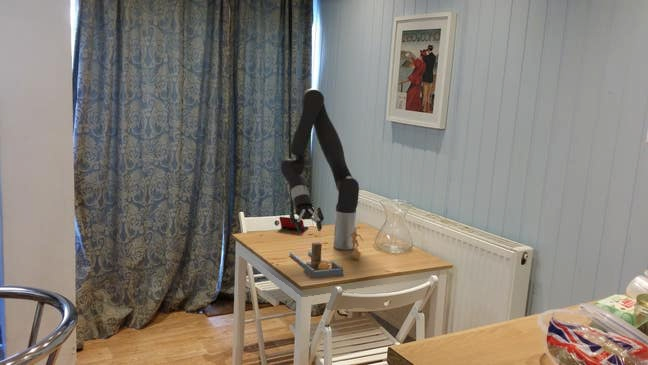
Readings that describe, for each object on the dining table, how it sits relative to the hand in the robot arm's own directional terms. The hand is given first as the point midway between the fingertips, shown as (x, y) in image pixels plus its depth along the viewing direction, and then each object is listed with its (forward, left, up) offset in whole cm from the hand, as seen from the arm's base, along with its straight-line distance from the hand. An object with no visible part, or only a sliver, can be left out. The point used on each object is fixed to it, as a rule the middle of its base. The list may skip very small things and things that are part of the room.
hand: (310, 230), depth 237 cm
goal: (0, +15, -13) cm, 20 cm away
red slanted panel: (-13, -50, -14) cm, 54 cm away
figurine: (-21, +2, -13) cm, 25 cm away
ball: (0, +15, -11) cm, 19 cm away
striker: (0, +9, -13) cm, 16 cm away
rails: (0, +1, -13) cm, 13 cm away
